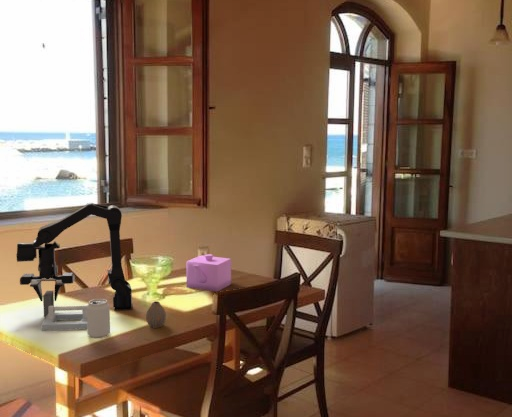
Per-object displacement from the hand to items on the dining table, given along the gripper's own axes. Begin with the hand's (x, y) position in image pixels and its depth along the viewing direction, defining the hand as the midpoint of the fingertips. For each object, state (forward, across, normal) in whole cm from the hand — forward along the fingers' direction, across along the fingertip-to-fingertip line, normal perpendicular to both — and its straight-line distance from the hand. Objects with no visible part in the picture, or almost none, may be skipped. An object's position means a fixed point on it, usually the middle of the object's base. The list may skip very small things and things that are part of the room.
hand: (48, 300), depth 226 cm
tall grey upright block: (+5, 0, 0) cm, 5 cm away
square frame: (+5, -9, +12) cm, 16 cm away
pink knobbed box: (+5, -61, -31) cm, 69 cm away
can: (+5, -21, +25) cm, 33 cm away
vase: (+5, -40, +18) cm, 44 cm away
